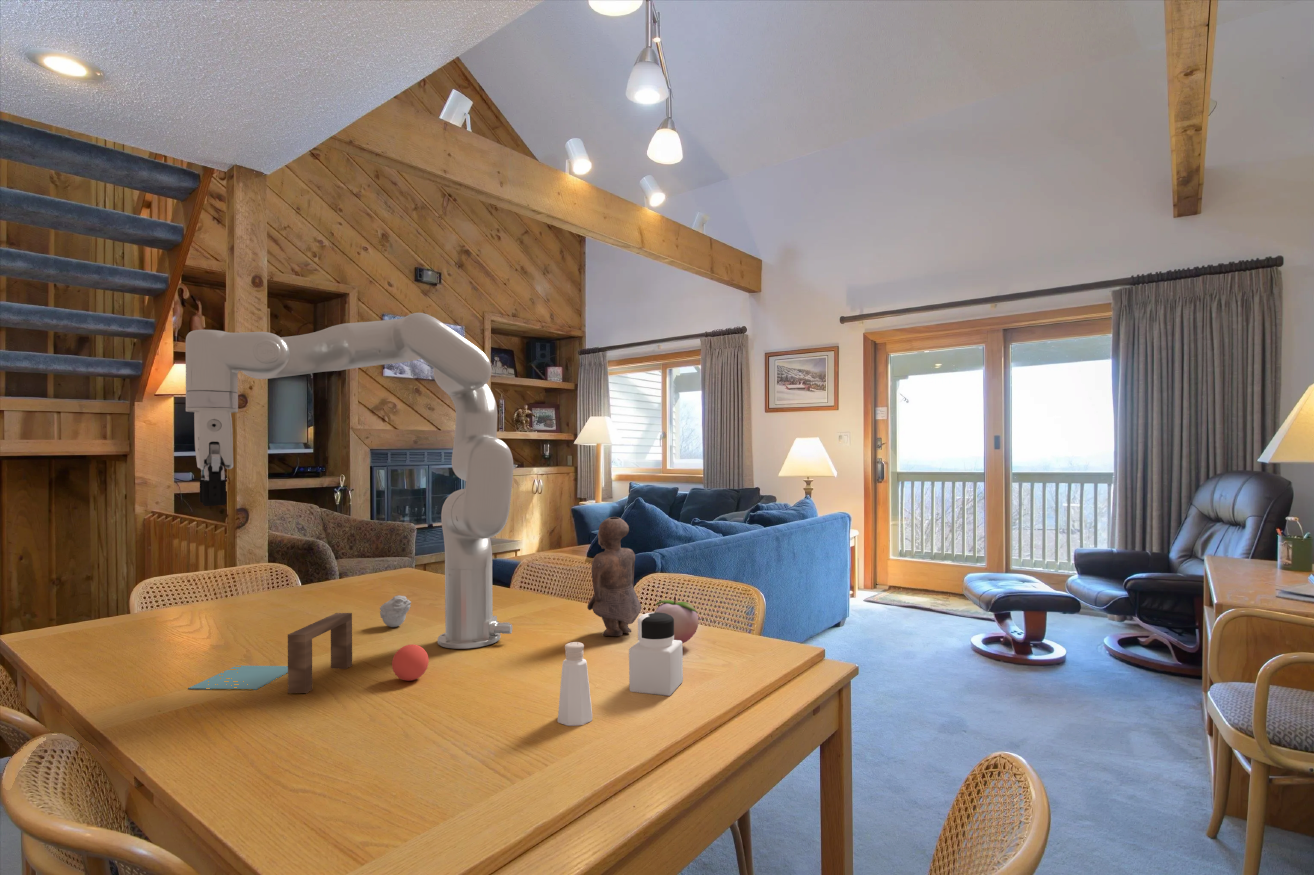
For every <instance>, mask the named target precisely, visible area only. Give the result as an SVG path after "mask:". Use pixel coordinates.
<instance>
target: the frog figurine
mask: <svg viewBox="0 0 1314 875" xmlns="http://www.w3.org/2000/svg"><path fill="white" fill-rule="evenodd" d="M411 603H412V601H410V600H409V598H407V597H406V595H395V596H393V597H392V598H391V599H389V600H388V601H386V602H384V603H383V604H381V605H380V607H379V610H380V611H379V614H380V618H381V619H382V621H383V624H385V625H386V626H387V627H388V628H389V627H390V628H396V627H399V626H401V625H402V624H404V622H405V619H406V618H407V617H406V616H407V613H409V610H410V608H411V606H412V605H411Z"/></svg>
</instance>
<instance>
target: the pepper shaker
mask: <svg viewBox="0 0 1314 875" xmlns="http://www.w3.org/2000/svg"><path fill="white" fill-rule="evenodd" d="M584 647H585V645H584V643H582V642H579V641H573V642H572V641H571V642H568V643H566V644H565V645H564V649H565V659H564V660H562V666H561V677H560V678H561V679H560V690H559V701H558V710H557V713H558V714H557V723H558V724H561V725H564V726H567V727H573V726H574V727H575V726H578V727H579V726H583V725H585V724H588V723H590V722H592V721H593V710H592V699H591V690H590V681H589V671H588V662H587V659H585V658H584V654H585V653H584V652H585V651H584Z"/></svg>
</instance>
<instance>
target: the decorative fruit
mask: <svg viewBox="0 0 1314 875" xmlns="http://www.w3.org/2000/svg"><path fill="white" fill-rule="evenodd" d="M676 597H677V596H674V597H673V600H671V599H662V600H659V601H658V602H656V603H655V606H657V608H656V609H655V611H654V612H660V613H666V614H669V615H671V616H672V617H673V618H674V640H681V641H682V645H683V644H684V643H687V642H688V641H689V640H690V639H691V638H692V637H693V636H694V635H695V634H696V633H697V630H698V628H699V627H698V626H699V616H698V613H697V610H696V608H695V607H694V606H693V605H692V604H691V603H688V602H687V601H686V602H685V601H679V602H676V601H677V600H676ZM658 605H659V606H658Z"/></svg>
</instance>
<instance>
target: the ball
mask: <svg viewBox="0 0 1314 875" xmlns="http://www.w3.org/2000/svg"><path fill="white" fill-rule="evenodd" d="M429 661H430V658H429V654H428V653H427V651H426V650H425V649H424V648H423V647H422V646H420V645H418V644H415V643H413V644H407V645H404V646H402V647H400V648H399V649H398V650H397V651H396V652H395V653H394V655H393V657H392V660H391V667H392V668H391V669H392V671H393V673H394V675H395V676H396V677H397V678H398V679H400V680H401V681H402V680H403V681H405V682H406V681H408V682H410V681H415V680H418V679H419V678H420V677H422V676H423V675H424V674H425V672H426V671H427V669H428V666H429V664H430V663H429Z"/></svg>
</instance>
